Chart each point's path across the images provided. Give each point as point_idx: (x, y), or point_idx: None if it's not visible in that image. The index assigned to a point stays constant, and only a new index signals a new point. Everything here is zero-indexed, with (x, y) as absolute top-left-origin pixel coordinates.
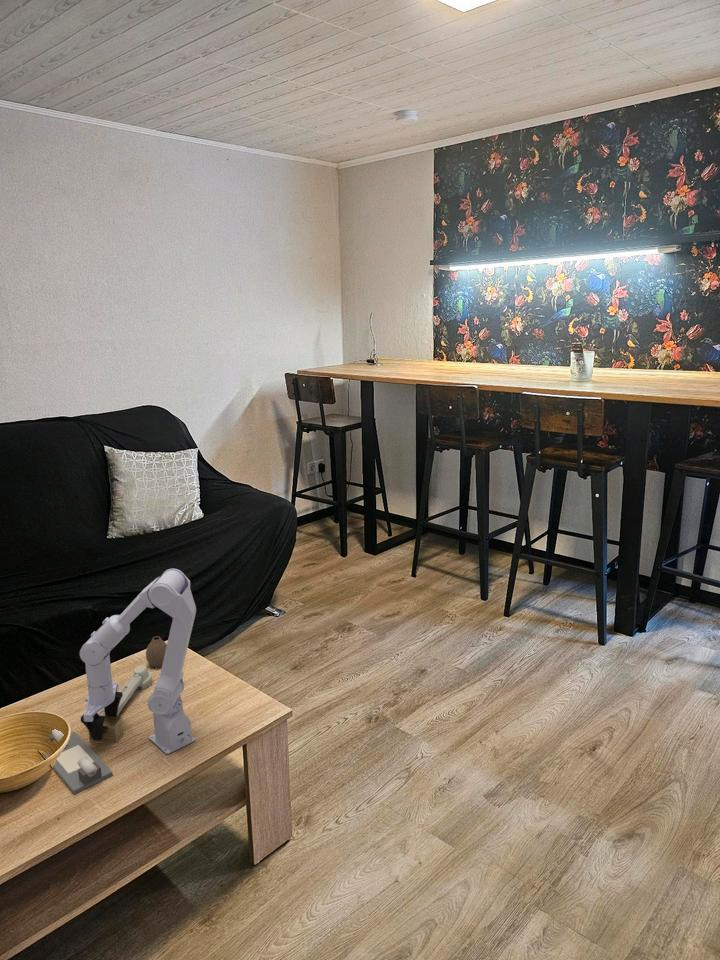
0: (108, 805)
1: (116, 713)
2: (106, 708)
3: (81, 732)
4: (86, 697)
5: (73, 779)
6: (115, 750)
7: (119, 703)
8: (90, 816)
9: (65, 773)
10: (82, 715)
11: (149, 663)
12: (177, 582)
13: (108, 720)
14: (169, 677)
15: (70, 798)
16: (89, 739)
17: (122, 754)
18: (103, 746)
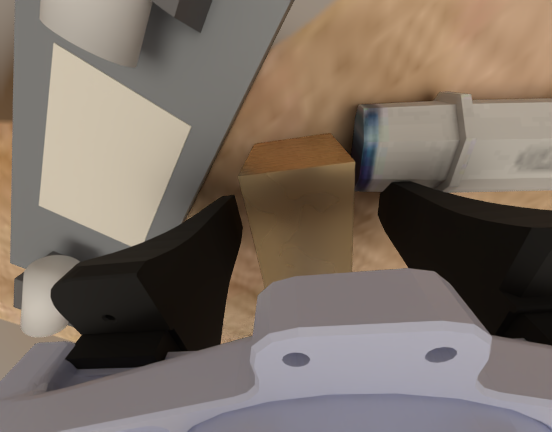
0: (67, 330)
1: (401, 249)
2: (427, 218)
3: (323, 33)
4: (332, 349)
5: (37, 236)
6: (239, 259)
7: (547, 186)
8: (18, 317)
9: (31, 192)
10: (97, 279)
11: None
12: None
13: (312, 263)
14: None
15: (9, 252)
16: (253, 147)
17: (229, 284)
18: (246, 213)
